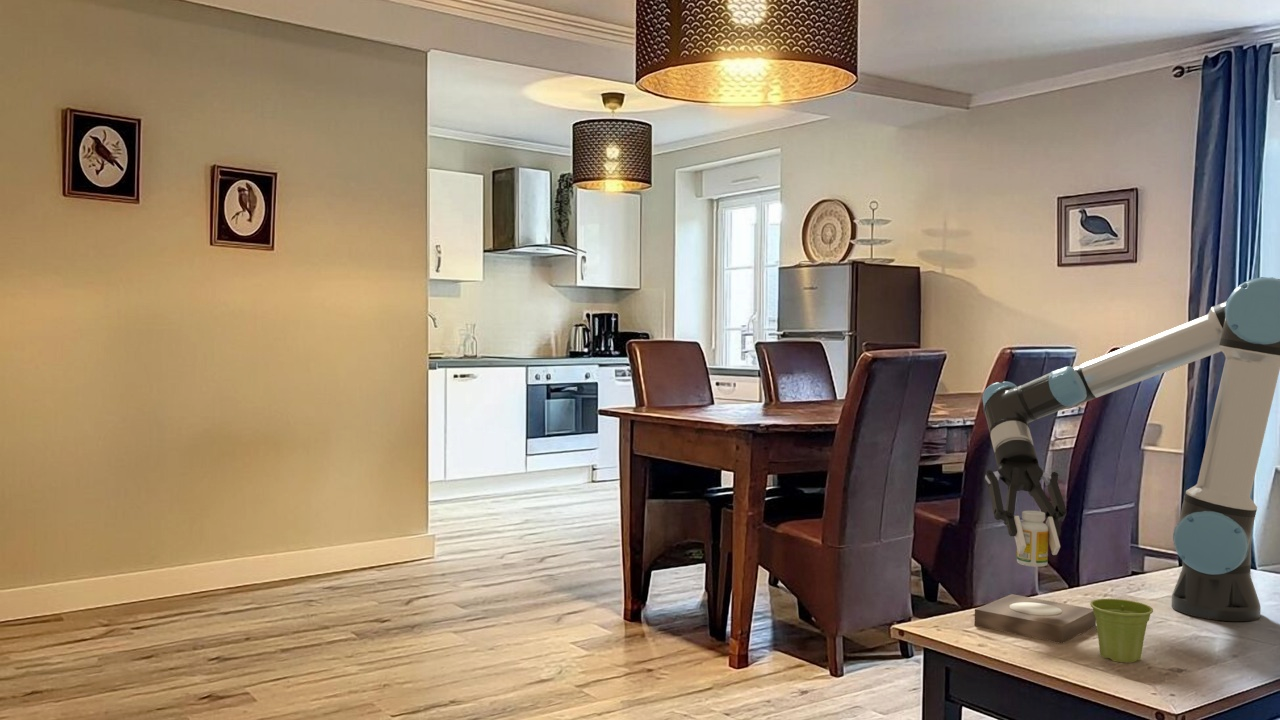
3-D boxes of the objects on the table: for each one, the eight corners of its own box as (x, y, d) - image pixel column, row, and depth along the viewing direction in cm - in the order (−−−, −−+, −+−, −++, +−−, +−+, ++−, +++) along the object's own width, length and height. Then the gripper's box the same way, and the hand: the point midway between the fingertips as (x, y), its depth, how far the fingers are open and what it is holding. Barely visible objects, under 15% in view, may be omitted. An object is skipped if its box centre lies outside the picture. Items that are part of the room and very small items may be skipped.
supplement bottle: (1017, 565, 187) (1018, 513, 187) (1015, 559, 193) (1016, 509, 192) (1049, 568, 186) (1050, 515, 186) (1046, 562, 191) (1047, 510, 191)
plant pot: (1159, 668, 164) (1160, 614, 164) (1096, 664, 166) (1097, 611, 166) (1143, 651, 174) (1143, 600, 173) (1083, 647, 176) (1084, 597, 175)
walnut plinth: (1095, 625, 189) (1096, 608, 189) (1062, 643, 178) (1062, 625, 178) (1011, 609, 200) (1011, 593, 200) (974, 625, 189) (974, 608, 189)
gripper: (1056, 462, 203) (1085, 563, 187) (962, 460, 205) (983, 560, 189) (1066, 438, 198) (1097, 540, 182) (970, 436, 199) (992, 537, 183)
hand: (1039, 550), depth 185 cm, fingers closed on supplement bottle, 5 cm apart
